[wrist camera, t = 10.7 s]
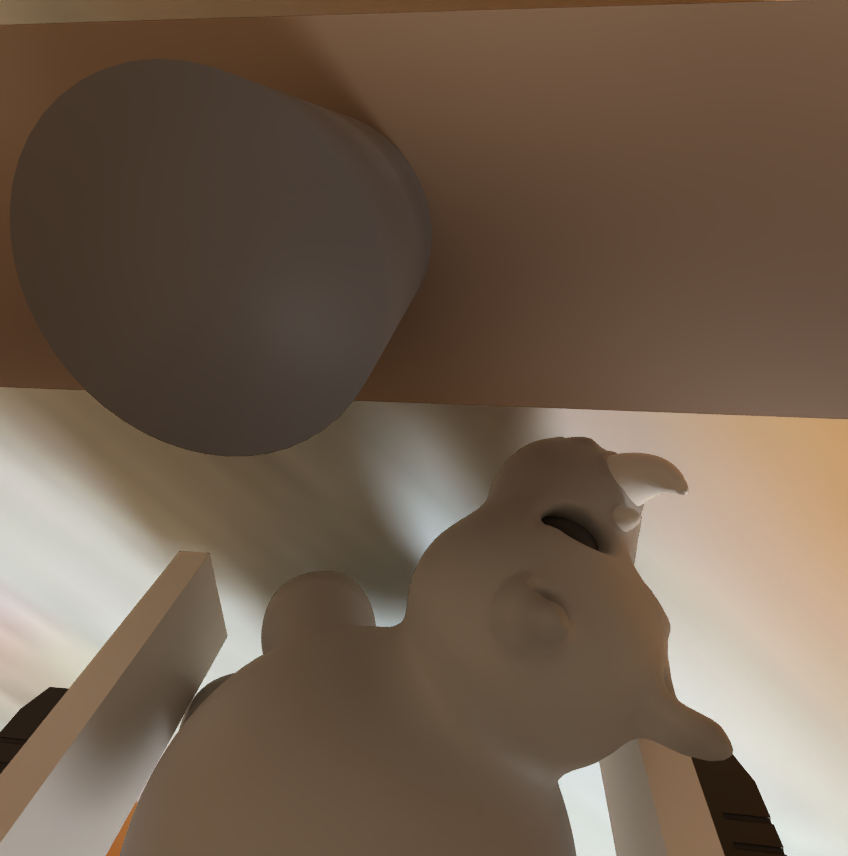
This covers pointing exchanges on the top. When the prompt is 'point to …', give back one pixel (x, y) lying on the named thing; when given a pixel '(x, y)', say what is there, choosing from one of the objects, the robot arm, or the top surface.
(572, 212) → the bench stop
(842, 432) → the top surface
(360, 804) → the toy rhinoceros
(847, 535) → the top surface
